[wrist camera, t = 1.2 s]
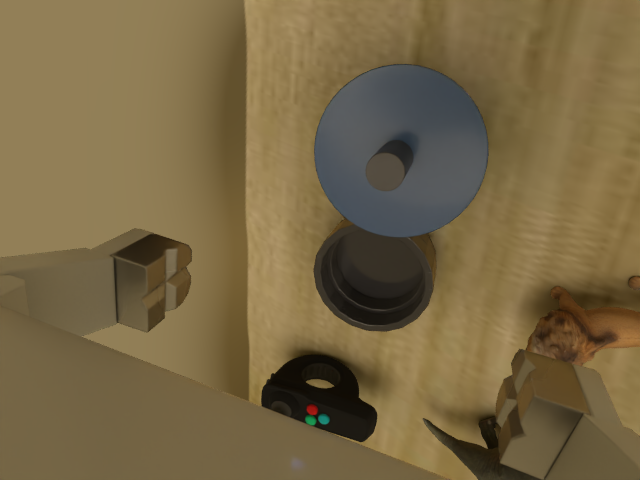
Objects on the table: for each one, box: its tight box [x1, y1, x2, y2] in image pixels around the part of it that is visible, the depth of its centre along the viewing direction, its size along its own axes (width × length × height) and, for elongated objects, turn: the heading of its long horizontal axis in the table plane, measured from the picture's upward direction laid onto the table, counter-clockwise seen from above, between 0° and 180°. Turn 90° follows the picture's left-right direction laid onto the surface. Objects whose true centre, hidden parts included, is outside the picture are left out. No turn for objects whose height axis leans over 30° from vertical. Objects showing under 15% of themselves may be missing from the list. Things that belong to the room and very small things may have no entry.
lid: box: [314, 64, 488, 237], centre depth 28 cm, size 12×12×6 cm
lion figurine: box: [526, 277, 640, 366], centre depth 34 cm, size 15×5×9 cm, turn 115°
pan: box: [314, 218, 436, 332], centre depth 41 cm, size 11×11×5 cm
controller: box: [261, 355, 377, 442], centre depth 46 cm, size 4×12×10 cm, turn 83°
